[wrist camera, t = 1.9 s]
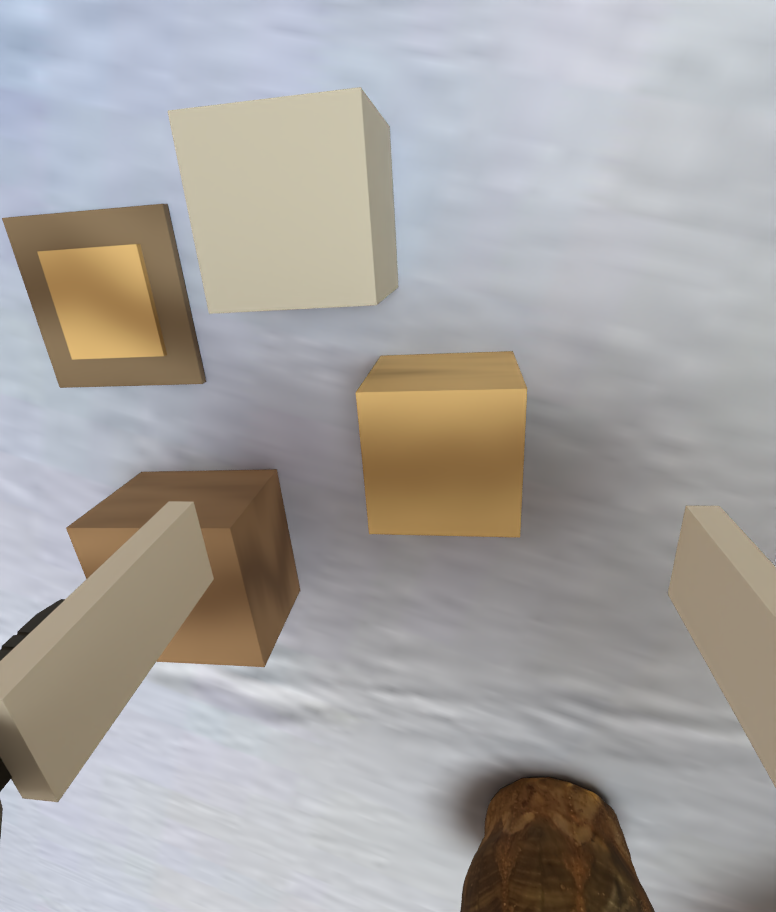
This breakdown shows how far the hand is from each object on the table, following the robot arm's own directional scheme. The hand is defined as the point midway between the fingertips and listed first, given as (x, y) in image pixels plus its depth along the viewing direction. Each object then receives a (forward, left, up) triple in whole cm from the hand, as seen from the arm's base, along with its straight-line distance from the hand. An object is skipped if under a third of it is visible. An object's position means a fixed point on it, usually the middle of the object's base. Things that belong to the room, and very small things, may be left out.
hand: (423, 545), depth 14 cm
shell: (-29, -6, -12) cm, 32 cm away
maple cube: (0, 0, -12) cm, 12 cm away
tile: (+6, +16, -11) cm, 20 cm away
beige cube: (+9, +5, -12) cm, 15 cm away
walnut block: (-7, +13, -12) cm, 19 cm away
